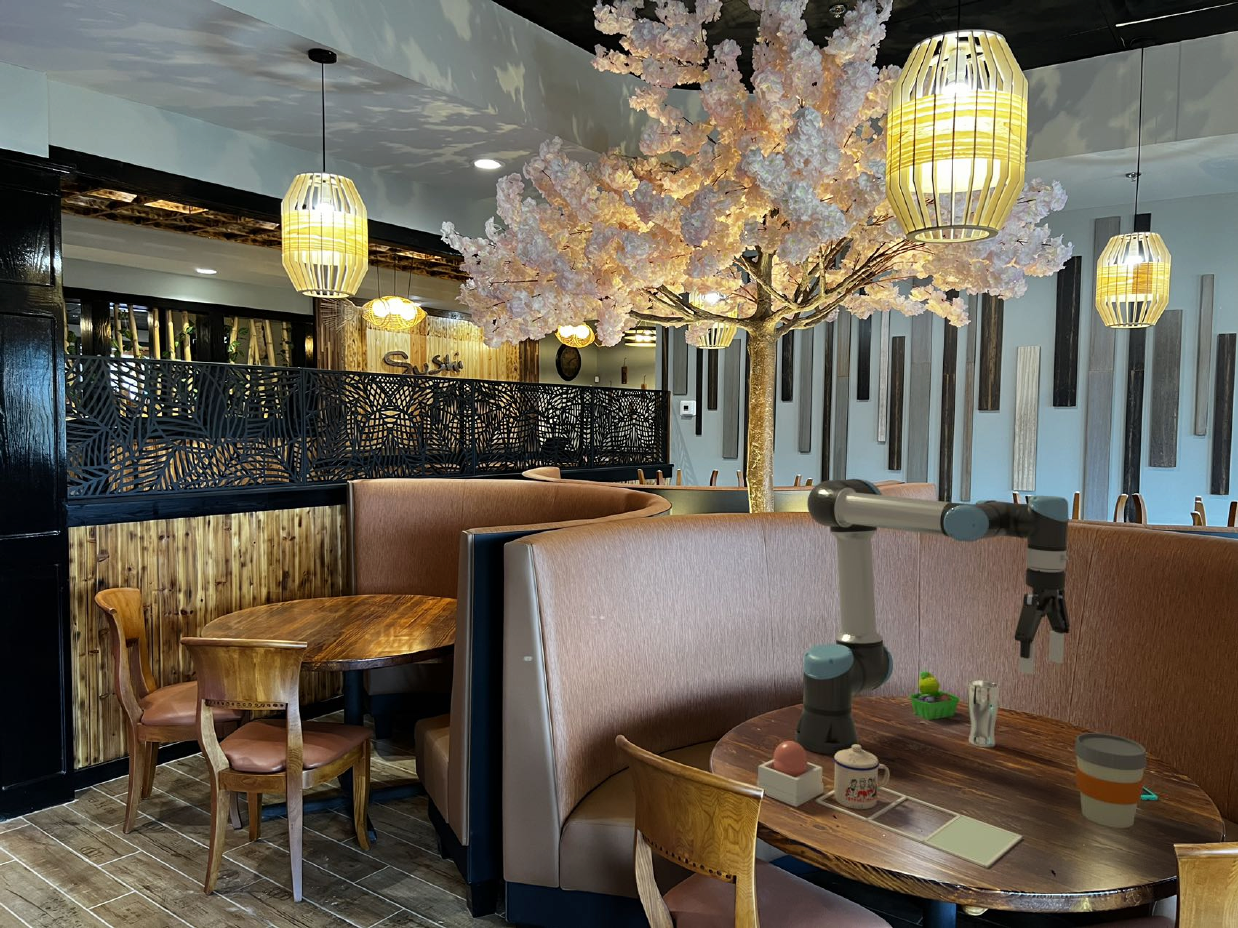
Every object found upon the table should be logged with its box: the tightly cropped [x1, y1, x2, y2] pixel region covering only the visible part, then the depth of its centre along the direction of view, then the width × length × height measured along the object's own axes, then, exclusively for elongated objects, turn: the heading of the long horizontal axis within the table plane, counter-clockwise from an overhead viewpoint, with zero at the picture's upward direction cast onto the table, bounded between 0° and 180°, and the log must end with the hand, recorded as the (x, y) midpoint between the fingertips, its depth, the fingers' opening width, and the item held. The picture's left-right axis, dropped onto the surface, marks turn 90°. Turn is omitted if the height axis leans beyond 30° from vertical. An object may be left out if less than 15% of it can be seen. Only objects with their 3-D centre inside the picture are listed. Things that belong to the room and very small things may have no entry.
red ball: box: [773, 740, 808, 778], centre depth 178 cm, size 7×7×7 cm
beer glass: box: [967, 679, 1000, 749], centre depth 207 cm, size 7×7×15 cm
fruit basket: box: [909, 670, 961, 721], centre depth 228 cm, size 11×9×11 cm
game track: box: [814, 786, 1023, 869], centre depth 166 cm, size 35×16×1 cm, turn 44°
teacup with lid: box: [833, 744, 890, 810], centre depth 174 cm, size 12×9×12 cm
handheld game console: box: [1141, 786, 1159, 801], centre depth 184 cm, size 10×16×1 cm, turn 179°
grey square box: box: [756, 758, 824, 808], centre depth 178 cm, size 10×10×6 cm
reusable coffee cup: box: [1073, 732, 1148, 829], centre depth 168 cm, size 13×13×15 cm
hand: (1041, 667), depth 179 cm, fingers open, 13 cm apart
